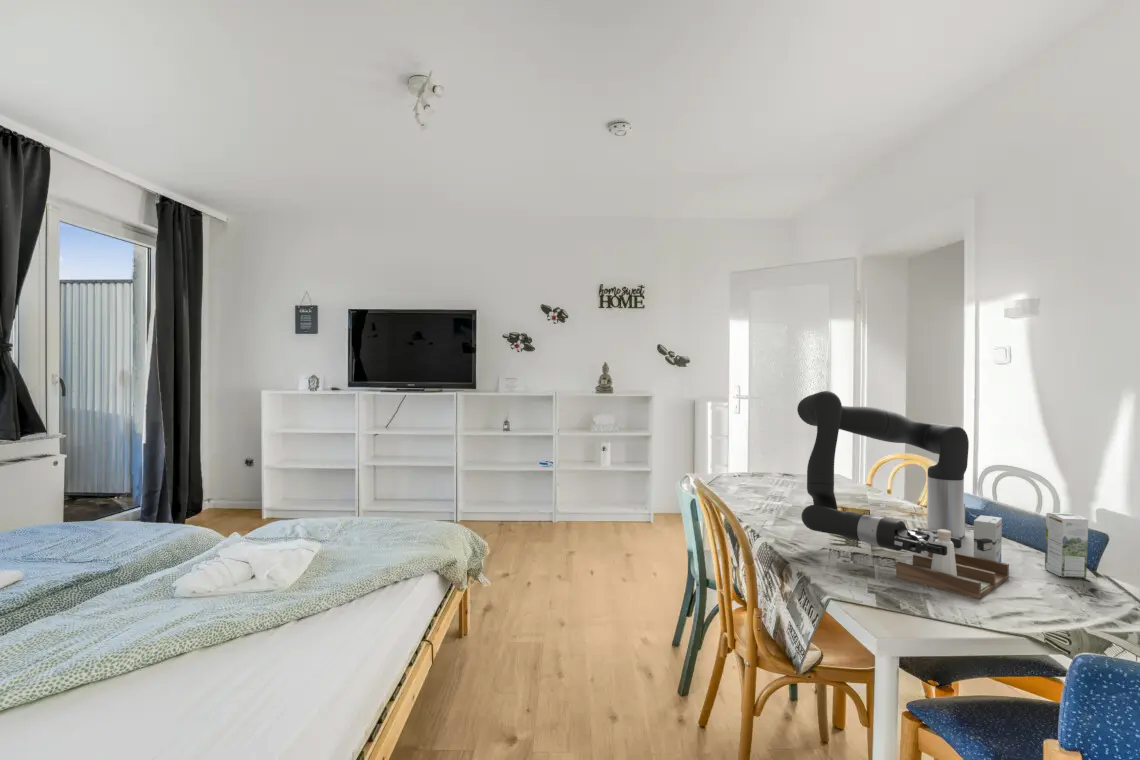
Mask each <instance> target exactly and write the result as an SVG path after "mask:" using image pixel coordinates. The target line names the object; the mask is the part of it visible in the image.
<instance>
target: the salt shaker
mask: <svg viewBox="0 0 1140 760" xmlns="http://www.w3.org/2000/svg"><path fill="white" fill-rule="evenodd" d="M937 533H938V534H937V535H938V537H937V538H935V539H936V540H935V542H934V543H936V544H941V545H945V546H947V555H945V556H943V555H939V554H934V553H933V557H932V564H931V570H934V571H938V572H942V573H946V574H950V575H954V576H957V570H956V561H955V548H954V544H953V542H952V541H950V540H951V539H950V538H951V531H949V530H944V529H939V530H937Z"/></svg>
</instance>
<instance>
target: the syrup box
mask: <svg viewBox="0 0 1140 760" xmlns="http://www.w3.org/2000/svg"><path fill="white" fill-rule="evenodd" d="M1088 534H1089V520H1088V519H1087V518H1086V517H1083V516H1081V515H1078V514H1075V513H1069V512H1068V513H1065V512H1064V513H1063V512H1062V513H1061V512H1047V513H1045V544H1044V545H1045V546H1044V548H1045V549H1044V550H1045V551H1044V570H1046V571H1047V570H1048V571H1047V572H1050V573H1052V574H1054V575H1056V576H1057V577H1060V576H1061V578H1073V577H1075V578H1077V579H1078V578H1080V579H1086V578H1087V569H1088V568H1087V566H1088V541H1089V540H1088V538H1089V535H1088Z"/></svg>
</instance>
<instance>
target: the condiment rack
mask: <svg viewBox="0 0 1140 760" xmlns="http://www.w3.org/2000/svg"><path fill="white" fill-rule="evenodd" d="M954 552H955V551H954ZM927 553H928V555H927V556H926V555H921V554H918V553H913V554H912V564H910V563H905V562H901V561H896V564H895V577H896V578H898V577H899V579H901V580H905V579H906V580H905V581H910V582H912V583H913V582H914V583H916V582H917V584H919V585H920V584H921V585H924V586H928V587H932V588H935V589H940V590H942V589H944V590H943V591H946V590H947V591H946V592H950V591H951V593H954V592H955V593H954V594H957V593H958V595H961V594H962V596H965V595H966V596H965V597H968V596H970V597H969V598H972V597H973V599H976V598H977V599H976V600H980V599H981V598H983V597H984V596H986V595H987V594H989V593H991V592H992V591H993V590H995V589H996V588H997V587H999V586H1000V585H1001V584H1003V583H1005V582H1006V581H1008V580H1009V579H1010V576H1009V575H1010V563H1007V562H1006V563H1005V562H1002V561H1001V562H997V561H992V560H988V559H983V558H979V557H974V555H969V554H965V553H964V554H963V553H960V552H955V561H956V570H957V576H954V575H950V574H946V573H942V572H938V571H934V570H931V564H932V557H933V553H930V552H927ZM1007 579H1008V580H1007ZM979 598H980V599H979Z"/></svg>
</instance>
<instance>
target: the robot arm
mask: <svg viewBox="0 0 1140 760" xmlns="http://www.w3.org/2000/svg"><path fill="white" fill-rule="evenodd" d="M797 414H798V417H799V418H800V419H801V421H803V422H804V423H805V424H807V425H809V426H813V427H816V437H815V440H814V441H815V442H814V445H813V447H812V450H811V452H810V455H809V458H808V463H807V469H806V491H807V494H808V495H809V496H810V497H811V498H812V502H813V504H810V505H808V506H806V507H805V508H804V509H803V510H802V513H801V520H802V523H803V525H804V526H805V527H806V528H807V529H809V530H811V531H813V532H814V531H815V532H818V533H819V532H820V533H825V534H831V535H837V536H840V537H844V538H846V539H849V540H854V541H857V542H862V543H865V544H868V545H871V546H875V547H880V548H883V549H887V550H891V551H896V552H899V551H902V550H904V551H906V552H911V553H914V554H918V555H921V554H922V553H923V554H924V553H925V554H927V553H928V552H930V553H934V554H939V555H943V556H945V555H947V546H945V545H941V544H936V543H934V542H935V540H936V539H937V538H938V535H937V534H938V533H937V530H939V529H944V530H949V531H951V538H950V539H951V540H950V541H952V542H953V544H954V549H957V550H958V549H961V548H962V546H963V545H962V539H960V538H963V537H964V536H965V535H966V504H965V503H964V501H965V500H964V499H965V498H964V497H965V494H964V493H965V491H964V490H965V487H964V486H965V484H964V483H965V474H966V471H967V468H968V461H969V450H970V449H969V446H970V445H969V443H970V442H969V436H968V433H967V432H966V430H965V429H964V428H962V427H960V426H957V425H953V424H952V425H951V424H944V423H943V424H942V423H931V422H930V423H929V422H921V421H916V420H911V419H909V418H908V417H906V416H905V415H903V414H900V413H898V412H897V411H896V412H895V411H893V410H888V409H885V408H879V407H874V406H846V405H842V401H841V399H840V397H839V396H838V395H837V394H836V393H835V392H833V391H830V390H824V391H819V392H815V393H813V394H810V395H808V396H806V397H804V398H802V399H801V400H800V402H798V404H797ZM840 431H845V432H848V433H852V434H855V435H858V436H863V437H867V438H870V439H873V440H878V441H882V442H888V443H893V444H906V445H907V444H908V445H909V446H910V445H911V446H913V447H916V448H919V449H922V450H925V451H927V452H930V453H933V454H937V455H938V462H937V463H936V464H935V465H930V466H929V467H927V491H926V492H927V493H926V494H927V495H926V496H927V497H926V498H927V501H926V505H927V508H926V509H927V510H926V511H927V512H926V513H927V514H926V528H921V527H916V528H912V529H908V527H907V526H906V523H905V522H904V521H903V520H900V519H894V518H889V517H886V516H885V517H884V516H879V515H875V514H864V513H860V512H853V511H844V510H839V508H838V504H837V499H836V496H835V492H834V491H835V458H836V451H837V449H836V448H837V445H838V438H839V432H840Z"/></svg>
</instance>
